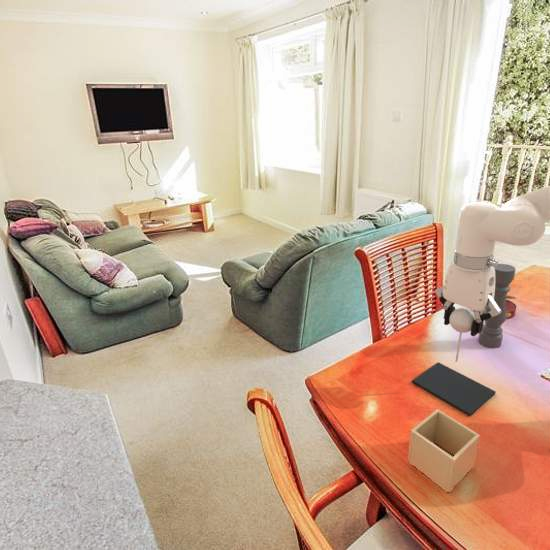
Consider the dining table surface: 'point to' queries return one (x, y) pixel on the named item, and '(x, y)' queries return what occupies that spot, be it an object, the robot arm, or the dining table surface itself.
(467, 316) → the lollipop
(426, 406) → the dining table surface
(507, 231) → the robot arm
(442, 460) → the box
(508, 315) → the canned food
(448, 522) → the dining table surface
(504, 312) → the candle holder
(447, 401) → the mat
